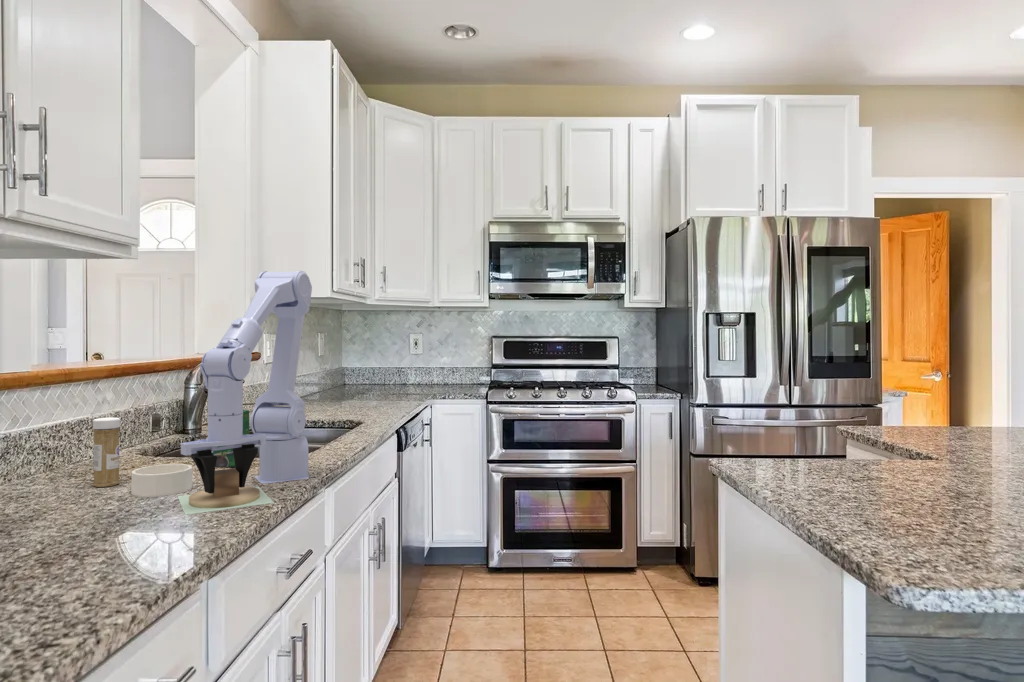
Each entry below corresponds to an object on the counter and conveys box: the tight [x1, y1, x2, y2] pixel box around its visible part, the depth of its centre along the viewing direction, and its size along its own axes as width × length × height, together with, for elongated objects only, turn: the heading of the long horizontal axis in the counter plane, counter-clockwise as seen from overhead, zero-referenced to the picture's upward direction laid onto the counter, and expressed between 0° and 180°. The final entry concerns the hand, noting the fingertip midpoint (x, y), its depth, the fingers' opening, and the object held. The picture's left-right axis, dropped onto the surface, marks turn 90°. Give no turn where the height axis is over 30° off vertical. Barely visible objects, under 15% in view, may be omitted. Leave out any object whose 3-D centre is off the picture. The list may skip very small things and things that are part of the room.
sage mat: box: [177, 485, 275, 516], centre depth 110 cm, size 14×14×1 cm
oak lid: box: [189, 468, 260, 508], centre depth 110 cm, size 12×12×5 cm
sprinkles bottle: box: [92, 416, 121, 488], centre depth 122 cm, size 5×5×14 cm
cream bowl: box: [130, 463, 193, 498], centre depth 117 cm, size 10×10×4 cm
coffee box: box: [212, 409, 250, 468], centre depth 141 cm, size 8×3×13 cm, turn 81°
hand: (225, 489), depth 110 cm, fingers closed on oak lid, 5 cm apart
